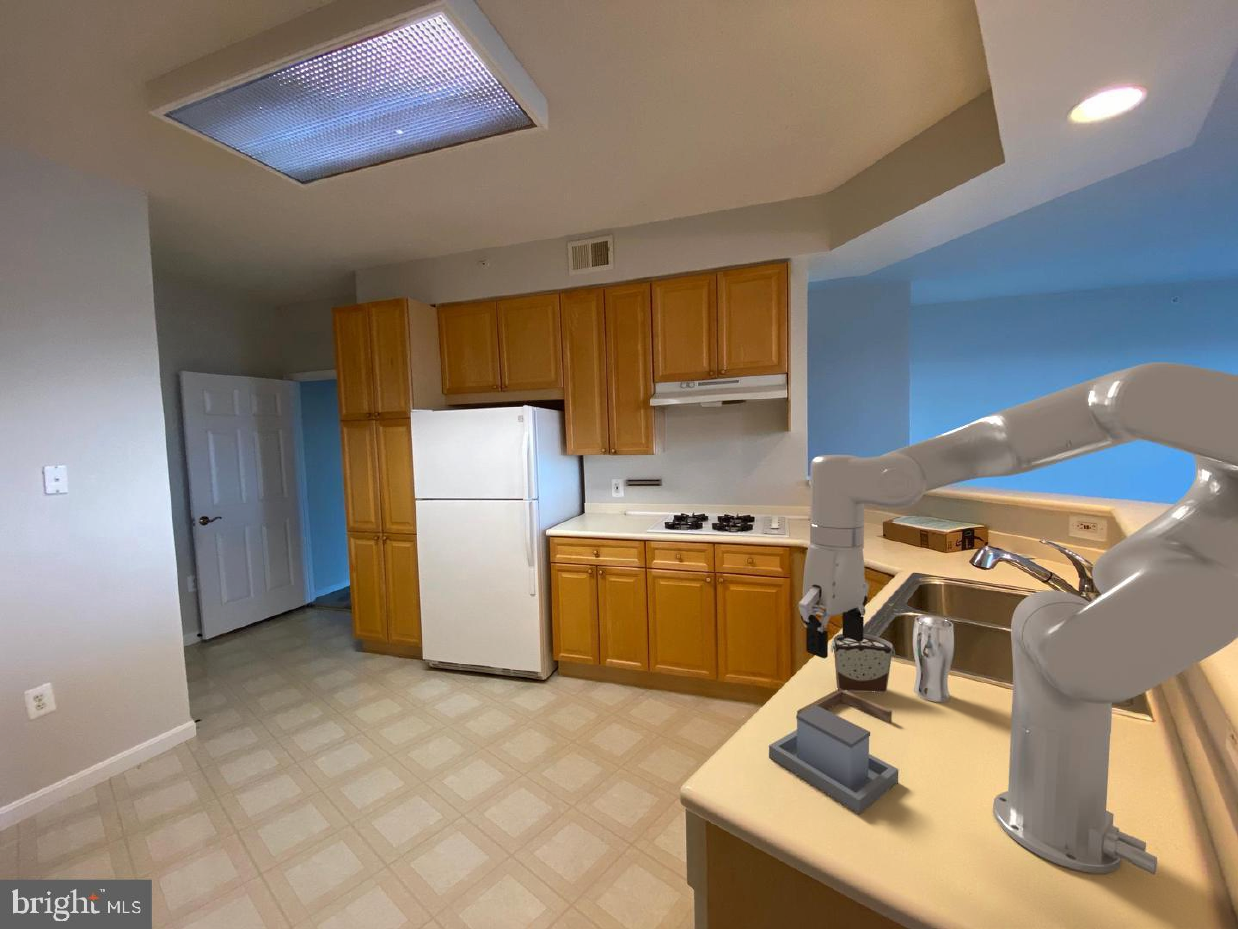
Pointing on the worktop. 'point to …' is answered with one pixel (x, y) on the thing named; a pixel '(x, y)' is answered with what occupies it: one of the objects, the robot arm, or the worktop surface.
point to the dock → (851, 700)
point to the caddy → (833, 746)
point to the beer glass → (932, 657)
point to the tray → (855, 799)
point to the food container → (862, 663)
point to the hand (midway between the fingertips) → (835, 646)
